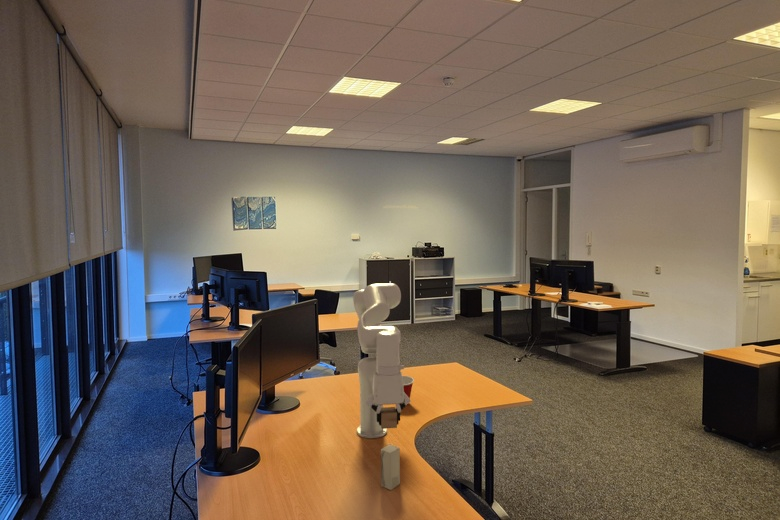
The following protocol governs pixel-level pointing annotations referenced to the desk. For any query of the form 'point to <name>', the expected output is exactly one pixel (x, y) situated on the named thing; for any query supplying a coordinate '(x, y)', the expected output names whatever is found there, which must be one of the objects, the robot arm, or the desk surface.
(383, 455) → the box
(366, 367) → the robot arm
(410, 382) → the plastic cup
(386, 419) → the walnut cube
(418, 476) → the desk surface
